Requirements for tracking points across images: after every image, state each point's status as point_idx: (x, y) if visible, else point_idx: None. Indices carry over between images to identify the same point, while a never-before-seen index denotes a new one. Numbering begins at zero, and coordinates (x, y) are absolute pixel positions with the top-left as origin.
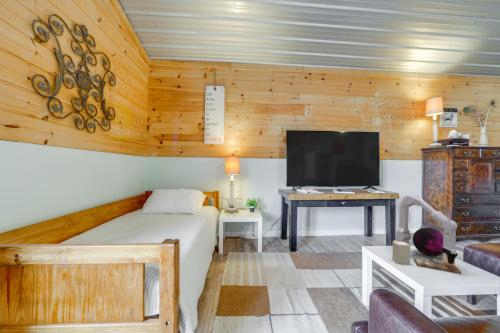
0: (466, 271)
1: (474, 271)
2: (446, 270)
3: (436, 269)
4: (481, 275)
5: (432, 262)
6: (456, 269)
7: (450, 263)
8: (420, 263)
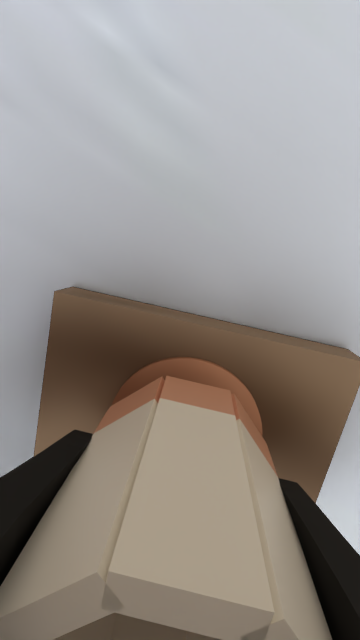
0: (207, 186)
1: (160, 23)
2: None
3: None
4: (328, 11)
5: None
6: (287, 383)
7: None
8: None
